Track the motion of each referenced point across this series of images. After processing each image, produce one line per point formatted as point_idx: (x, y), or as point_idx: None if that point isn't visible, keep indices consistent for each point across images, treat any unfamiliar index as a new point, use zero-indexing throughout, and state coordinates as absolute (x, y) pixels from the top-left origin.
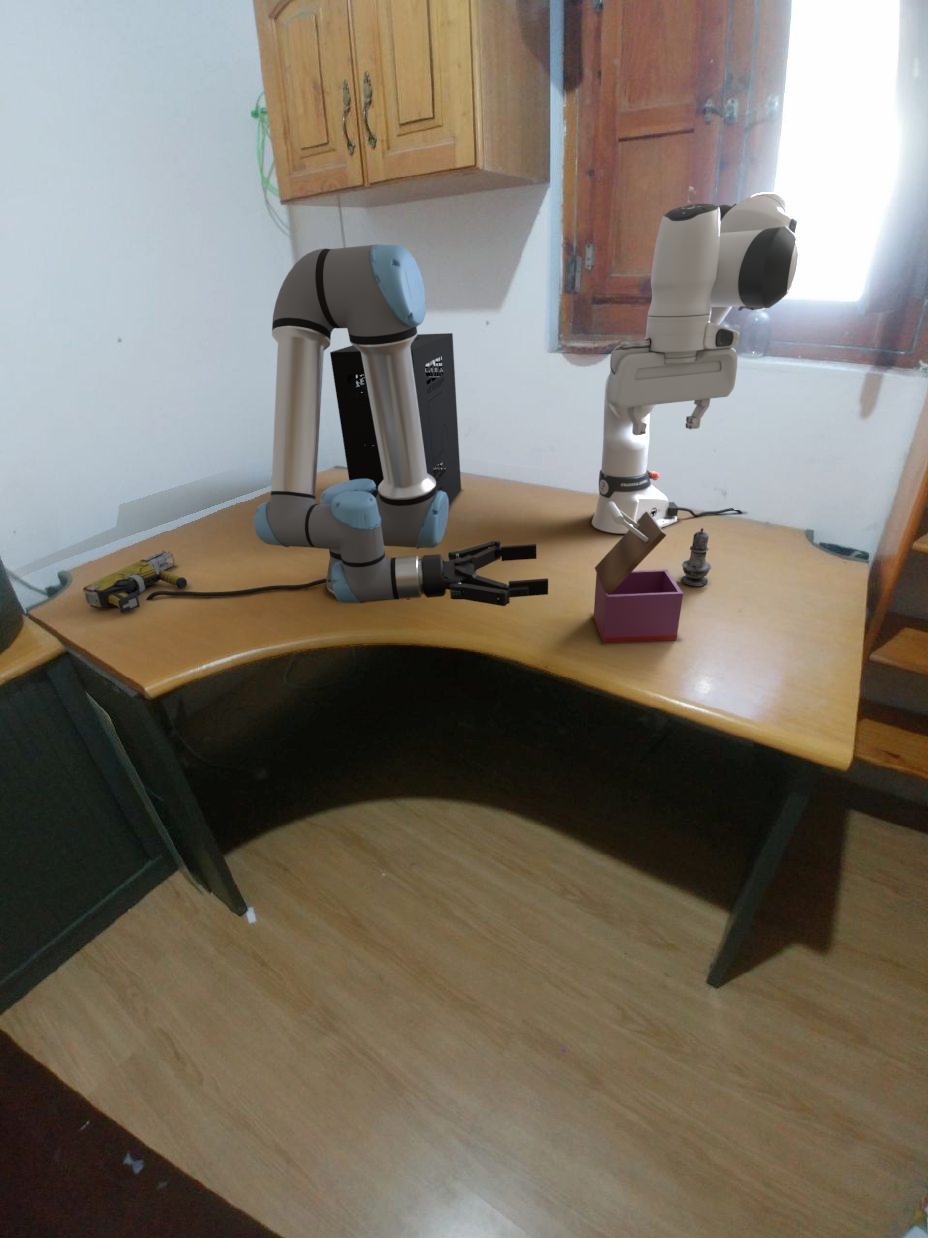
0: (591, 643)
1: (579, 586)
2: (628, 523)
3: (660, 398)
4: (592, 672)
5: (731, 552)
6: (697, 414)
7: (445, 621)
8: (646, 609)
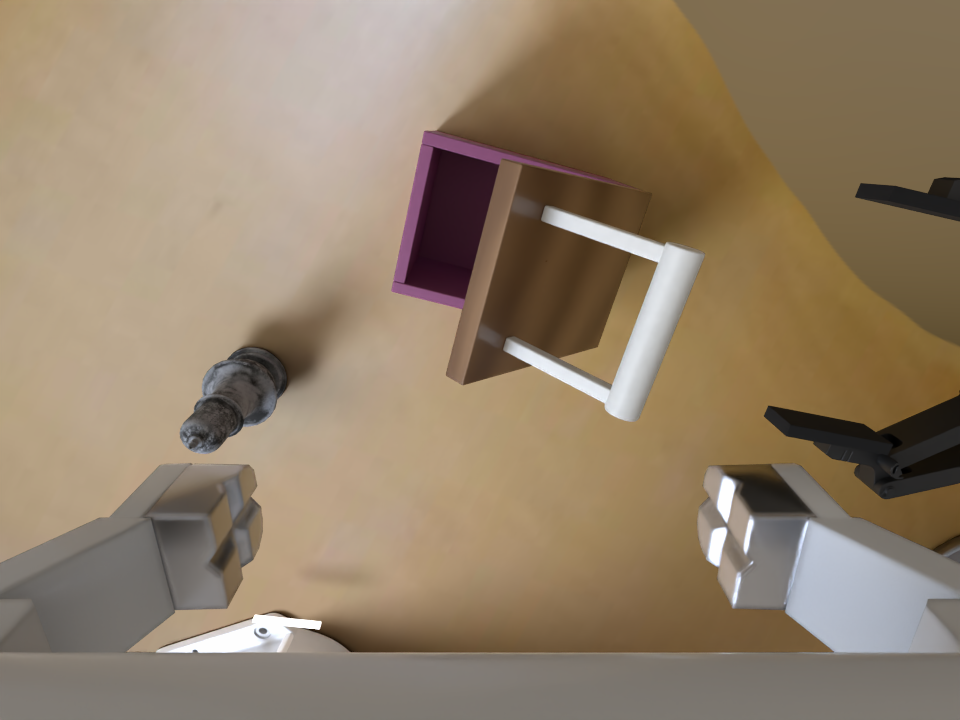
0: (635, 185)
1: (531, 437)
2: (635, 247)
3: (818, 716)
4: (699, 60)
5: (96, 475)
6: (127, 560)
7: (889, 387)
8: (522, 156)
